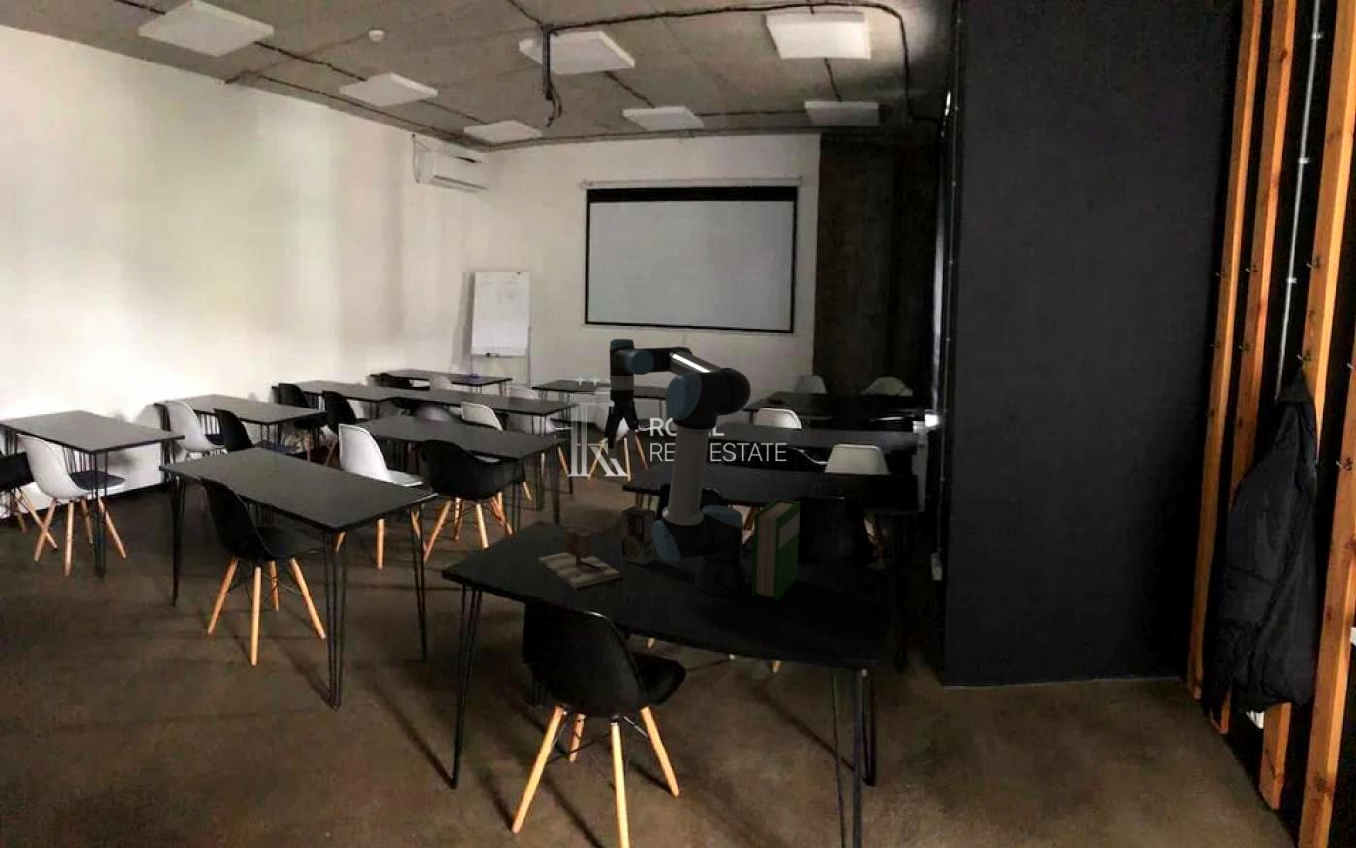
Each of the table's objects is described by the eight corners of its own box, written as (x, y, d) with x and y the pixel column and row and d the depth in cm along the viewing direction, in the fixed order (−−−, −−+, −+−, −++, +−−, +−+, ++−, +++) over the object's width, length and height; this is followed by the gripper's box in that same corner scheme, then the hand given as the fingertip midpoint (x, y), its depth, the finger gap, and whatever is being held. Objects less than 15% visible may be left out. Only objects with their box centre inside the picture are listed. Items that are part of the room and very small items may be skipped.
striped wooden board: (620, 577, 228) (620, 571, 228) (575, 588, 220) (575, 582, 219) (581, 553, 248) (581, 547, 247) (538, 562, 239) (538, 557, 239)
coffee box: (656, 559, 243) (656, 510, 240) (644, 565, 238) (644, 515, 234) (632, 553, 248) (633, 505, 245) (620, 559, 242) (620, 510, 239)
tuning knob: (565, 562, 234) (564, 530, 232) (572, 559, 237) (571, 528, 235) (596, 572, 227) (595, 539, 225) (602, 569, 230) (602, 536, 228)
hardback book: (776, 601, 213) (779, 518, 209) (751, 595, 217) (754, 514, 212) (796, 579, 229) (800, 501, 224) (773, 574, 232) (776, 498, 227)
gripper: (628, 382, 255) (628, 444, 259) (592, 392, 232) (592, 461, 237) (649, 384, 252) (648, 447, 256) (614, 394, 230) (614, 463, 234)
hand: (621, 453), depth 247 cm, fingers open, 13 cm apart
